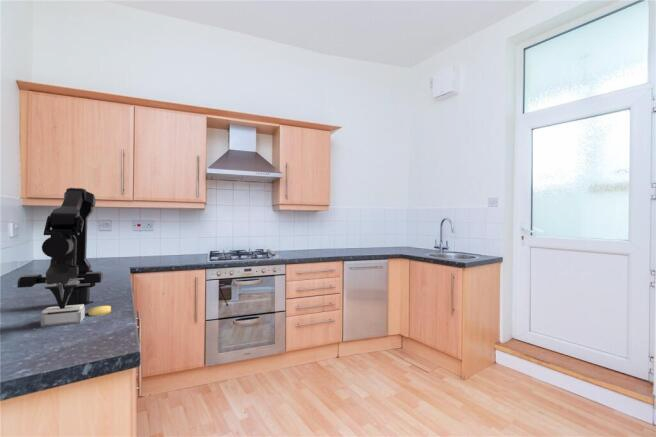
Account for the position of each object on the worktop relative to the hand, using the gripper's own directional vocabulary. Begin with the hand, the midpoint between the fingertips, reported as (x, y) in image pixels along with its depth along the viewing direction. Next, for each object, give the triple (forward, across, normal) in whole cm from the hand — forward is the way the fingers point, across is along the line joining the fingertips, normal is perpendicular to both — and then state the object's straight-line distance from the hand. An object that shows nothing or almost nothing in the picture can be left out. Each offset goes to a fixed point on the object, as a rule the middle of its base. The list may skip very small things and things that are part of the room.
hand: (62, 308), depth 95 cm
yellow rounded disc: (+4, +8, +9) cm, 13 cm away
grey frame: (+4, 0, +3) cm, 5 cm away
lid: (+1, 0, +2) cm, 3 cm away
